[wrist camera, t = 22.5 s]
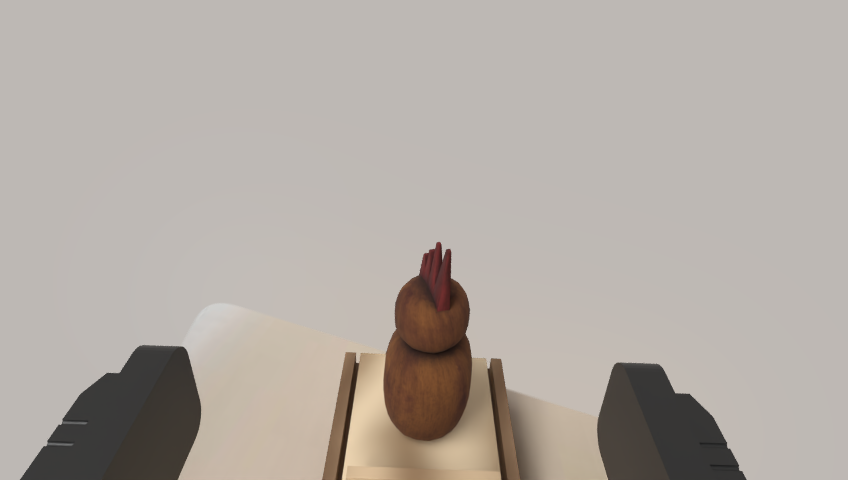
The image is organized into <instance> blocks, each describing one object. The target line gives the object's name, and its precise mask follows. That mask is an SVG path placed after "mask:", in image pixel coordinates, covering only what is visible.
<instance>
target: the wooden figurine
mask: <svg viewBox="0 0 848 480" xmlns="http://www.w3.org/2000/svg"><path fill="white" fill-rule="evenodd" d="M469 314H470V308H469V302H468V298H467V295H466V293H465V291H464V290H463V288H462V287H461V286H460V284H459V283H458V282H456V281H455V280H453V279H451V250H450V249H447V250H446V252H445V255H444V259H443V262H442V247H441V243H440V242H437V244H436V248H435V249H432V250H429V253H425V254H424V256H423V260H422V264H421V269H420V274H419V276H416V277H414V278H412V279H411V280H410V281H409V282H408V283H406V284H405V285H404V286H403V287H402V289H401V290H400V292H399V294H398V297H397V300H396V304H395V325H396V328H397V329H396V331H395V332H394V333H393V335H392V338H391V340H390V342H389V346H388V349H387V352H386V357H385V368H384V377H383V391H384V401H385V406H386V409H387V413H388V415H389V417H390V420H391V421H392V423H393V424H394V425H395V427H396V428H397V429H398V430H399V431H400V432H401V433H402V434H403V435H405V436H408V437H410V438H413V439H416V440H424V441H431V440H435V439H439V438H442V437H443V436H445V435H446V434H448V433H449V432H451V431H452V430H453V429H454V428H455V427H456V425H457V424H458V422H459V421H460V419H461V417H462V415H463V412H464V410H465V408H466V405H467V402H468V398H469V393H470V386H471V375H472V357H471V350H470V344H469V340H468V338H467V336H466V334H465V333H466V330H467V327H468V322H469Z"/></svg>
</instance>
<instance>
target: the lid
mask: <svg viewBox="0 0 848 480" xmlns="http://www.w3.org/2000/svg"><path fill="white" fill-rule="evenodd" d="M385 357H386V354H369V353H361V356H360V362H359V369H358V376H357V382H356V389H355V396H354V402H353V409H352V416H351V422H350V429H349V435H348V442H347V449H346V455H345V462H344V469H343V475H342V480H501V473H500V465H499V457H498V449H497V441H496V433H495V425H494V417H493V410H492V402H491V394H490V386H489V378H488V370H487V363H486V359H485V358H472V375H471V386H470V393H469V398H468V402H467V405H466V408H465V410H464V412H463V415H462V417H461V419H460V421H459V422H458V424H457V425H456V427H455V428H454V429H453V430H452V431H451V432H449V433H448V434H446V435H445V436H443V437H442V438H439V439H435V440H431V441H424V440H416V439H413V438H410V437H408V436H405V435H403V434H402V433H401V432H400V431H399V430H398V429H397V428H396V427H395V425H394V424H393V423H392V421H391V420H390V417H389V415H388V413H387V409H386V406H385V401H384V391H383V377H384V368H385Z"/></svg>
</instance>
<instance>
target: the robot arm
mask: <svg viewBox="0 0 848 480" xmlns="http://www.w3.org/2000/svg"><path fill="white" fill-rule="evenodd" d="M200 419H201V403H200V399H199V395H198V391H197V387H196V383H195V379H194V375H193V371H192V367H191V364H190V360H189V356H188V353H187V351H186V349H185V348H184V347H179V346H149V345H142V346H139V347H138V348H137V349H135V351H134V352H133V354H132V355H131V356H130V358H129V360H128V361H127V363H126V364H125V366H124V367H123V369H122V370H121V372H120V373H107V374H105V375H104V376H103V377H101V378H100V379H99V380H98V381H96V382H95V383H94V384H93V385H91V386H90V387H89V388H88V389H86V390H85V391H84V392H83V393H81V394H80V395H79V397H78V398H77V400H76V401H75V403H74V404H73V405H72V407H71V408H70V410H69V411H68V412H67V414H66V415H65V417H64V418H63V422H62V424H61V425H58V427H57V428H56V430H55V431H54V432H53V434H52V435H51V437H50V438H49V439H48V444H47V446H46V447H45V446H44V447H43V448H42V449H41V451H40V452H39V454H38V455H37V457H36V458H35V459H34V461H33V462H32V464H31V465H30V466H29V468H28V469H27V471H26V472H25V473H24V475H23V477H22V478H21V479H20V480H178V478H179V475H180V473H181V471H182V468H183V466H184V464H185V461H186V459H187V457H188V455H189V452H190V450H191V448H192V445H193V443H194V441H195V439H196V436H197V433H198V430H199V425H200ZM597 433H598V444H599V449H600V453H601V457H602V460H603V463H604V467H605V470H606V473H607V477H608V480H746V478H745V476H744V474H743V472H742V471H739V465H738V463H737V461H736V459H735V457H734V455H733V453H732V452H731V450H730V449H728V448H727V442H726V440H725V439H724V437H723V435H722V433H721V431H720V429H719V427H718V426H717V424H716V422H715V420H714V418H713V417H712V415H710V414H709V413H708V412H707V411H706V410H705V409H704V408H703V407H702V406H701V405H700V404H699V403H698V402H697V401H696V400H695V399H694V398H693V397H692V396H691V395H690V394H676V393H675V392H674V390H673V388H672V386H671V384H670V382H669V380H668V378H667V375H666V374H665V371H664V370H663V368H662V367H661V366H660V365H658V364H643V363H616V364H615V365H614V367H613V369H612V372H611V376H610V379H609V383H608V386H607V390H606V393H605V397H604V400H603V404H602V407H601V411H600V414H599V418H598V427H597Z"/></svg>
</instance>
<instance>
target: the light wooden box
mask: <svg viewBox="0 0 848 480" xmlns="http://www.w3.org/2000/svg"><path fill="white" fill-rule="evenodd" d="M358 369H359V363H356V353H351V352H346V354H345V360H344V365H343V370H342V376H341V381H340V387H339V392H338V397H337V403H336V408H335V414H334V419H333V425H332V430H331V435H330V441H329V446H328V452H327V457H326V463H325V468H324V473H323V479H322V480H342V475H343V469H344V462H345V455H346V449H347V442H348V435H349V429H350V422H351V416H352V409H353V402H354V396H355V389H356V382H357V376H358ZM487 370H488V378H489V386H490V394H491V402H492V410H493V417H494V425H495V433H496V441H497V449H498V457H499V465H500V473H501V480H520V476H519V469H518V463H517V457H516V450H515V444H514V438H513V432H512V425H511V419H510V413H509V406H508V400H507V394H506V387H505V381H504V375H503V369H502V362H501V359H491V362H490V369H487Z"/></svg>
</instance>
